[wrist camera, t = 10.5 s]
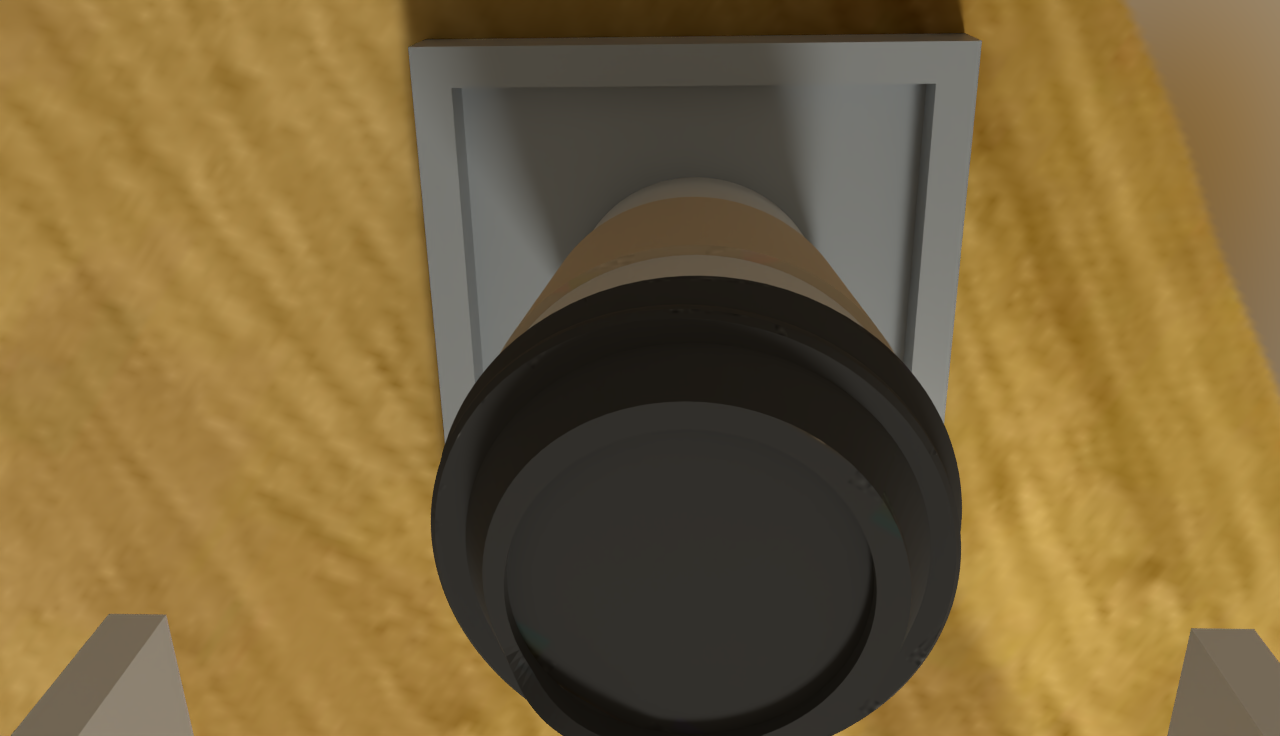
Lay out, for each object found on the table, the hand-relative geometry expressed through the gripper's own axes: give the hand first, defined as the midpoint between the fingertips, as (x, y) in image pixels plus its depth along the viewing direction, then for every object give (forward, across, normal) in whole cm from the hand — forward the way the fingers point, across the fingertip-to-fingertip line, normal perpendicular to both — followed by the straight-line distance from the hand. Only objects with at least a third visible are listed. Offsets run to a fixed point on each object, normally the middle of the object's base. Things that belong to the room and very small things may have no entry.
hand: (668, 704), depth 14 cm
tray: (+18, 0, -1) cm, 18 cm away
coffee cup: (+18, 0, -1) cm, 18 cm away
